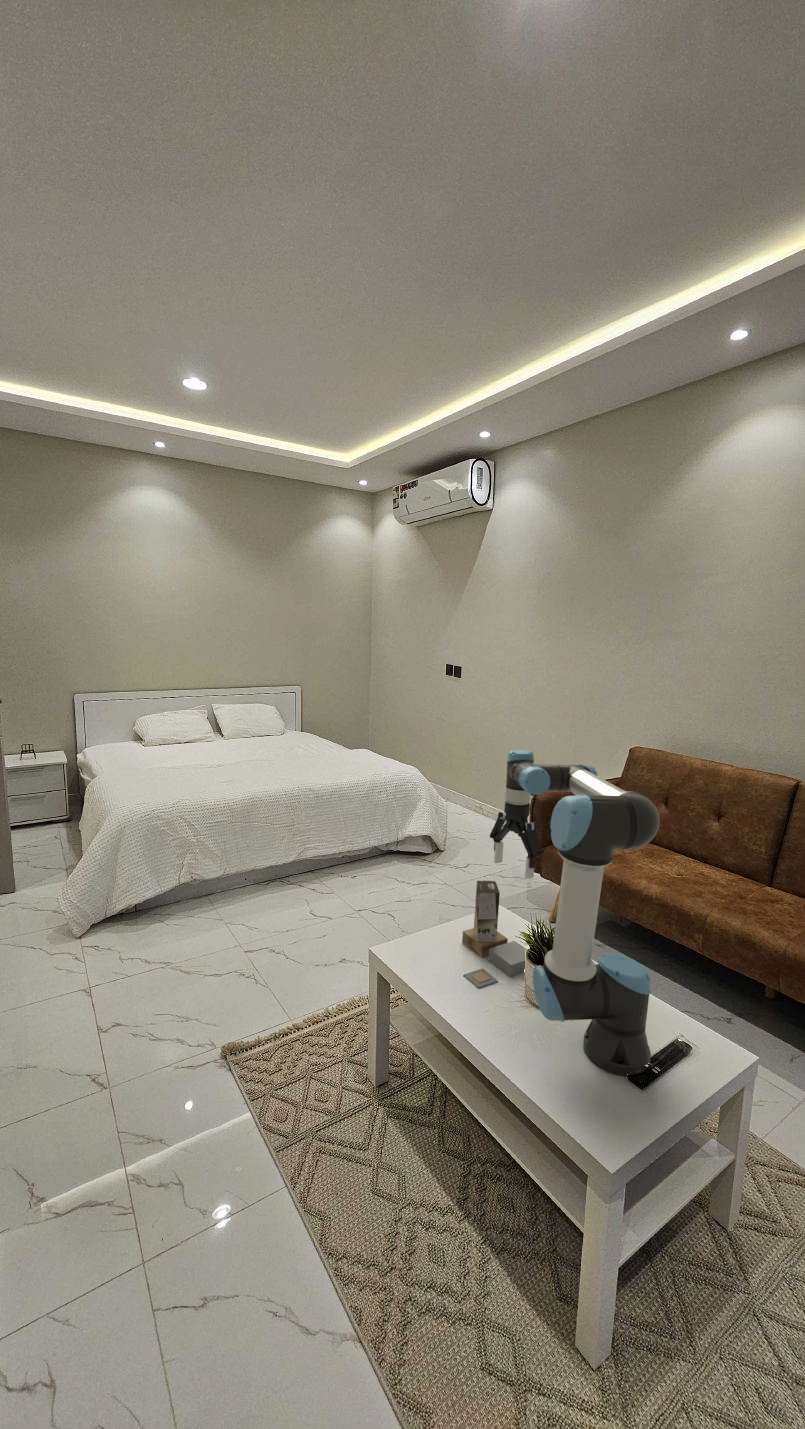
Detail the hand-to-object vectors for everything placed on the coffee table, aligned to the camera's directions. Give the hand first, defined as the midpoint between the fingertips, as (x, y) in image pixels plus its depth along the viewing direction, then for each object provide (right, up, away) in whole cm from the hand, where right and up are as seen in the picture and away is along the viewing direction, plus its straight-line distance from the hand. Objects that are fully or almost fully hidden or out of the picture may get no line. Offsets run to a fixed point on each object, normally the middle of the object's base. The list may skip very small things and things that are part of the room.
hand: (513, 869), depth 183 cm
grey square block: (-1, -28, -2) cm, 28 cm away
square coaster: (-11, -29, -10) cm, 32 cm away
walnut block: (-8, -26, +8) cm, 28 cm away
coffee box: (-8, -22, +7) cm, 25 cm away
